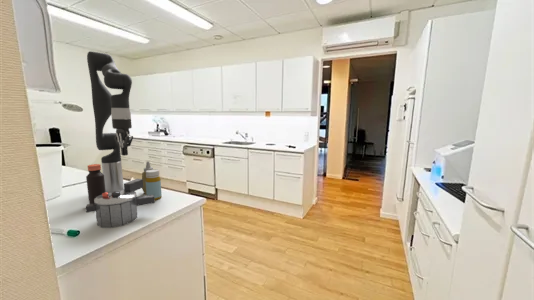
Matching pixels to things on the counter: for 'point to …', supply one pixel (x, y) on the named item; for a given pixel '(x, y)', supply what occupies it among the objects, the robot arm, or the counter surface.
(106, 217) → the pot
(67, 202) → the counter surface
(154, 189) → the bottle
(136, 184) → the lid
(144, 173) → the squeeze bottle
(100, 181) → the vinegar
